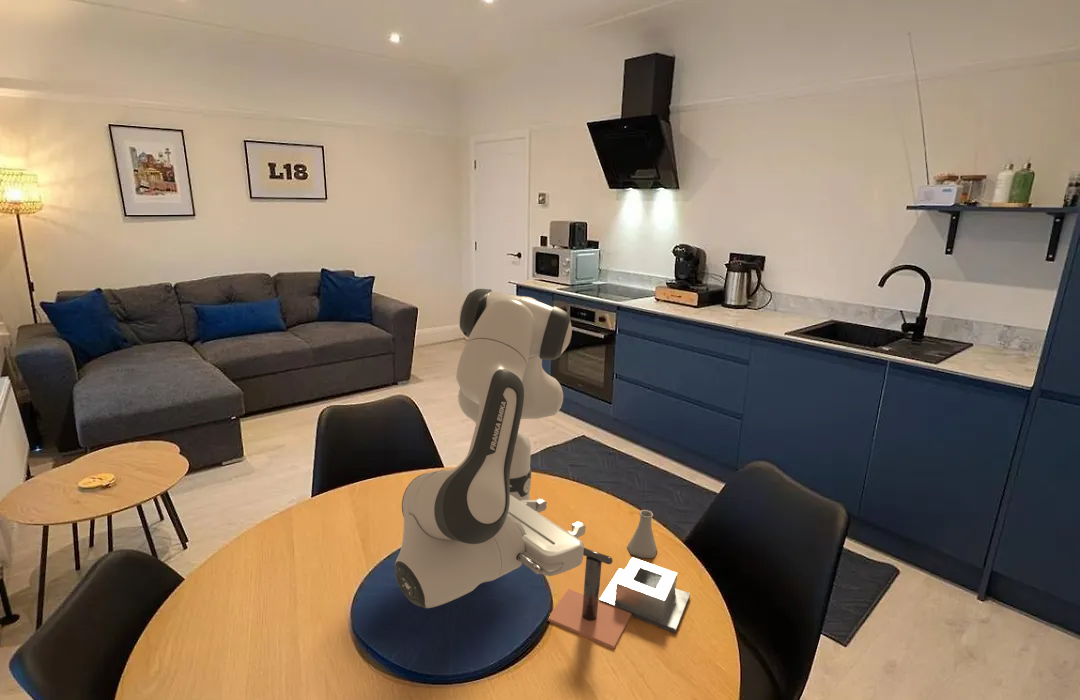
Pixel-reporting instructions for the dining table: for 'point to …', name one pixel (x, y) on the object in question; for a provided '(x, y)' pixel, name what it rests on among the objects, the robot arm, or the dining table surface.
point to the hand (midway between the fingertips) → (562, 514)
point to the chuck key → (592, 582)
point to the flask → (643, 537)
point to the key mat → (599, 630)
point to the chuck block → (647, 594)
